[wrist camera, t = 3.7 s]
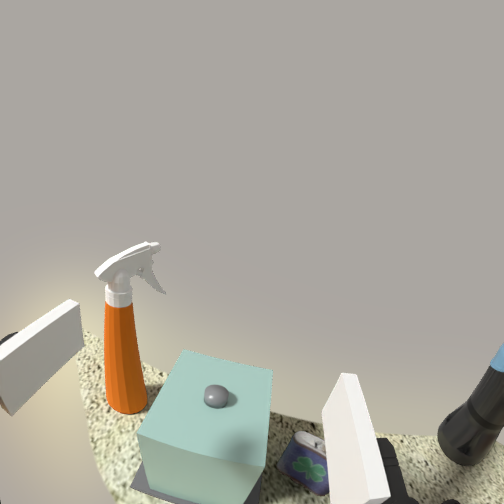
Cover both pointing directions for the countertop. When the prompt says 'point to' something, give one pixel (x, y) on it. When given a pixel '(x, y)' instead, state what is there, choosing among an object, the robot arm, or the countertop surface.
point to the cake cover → (207, 430)
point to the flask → (306, 462)
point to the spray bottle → (125, 326)
